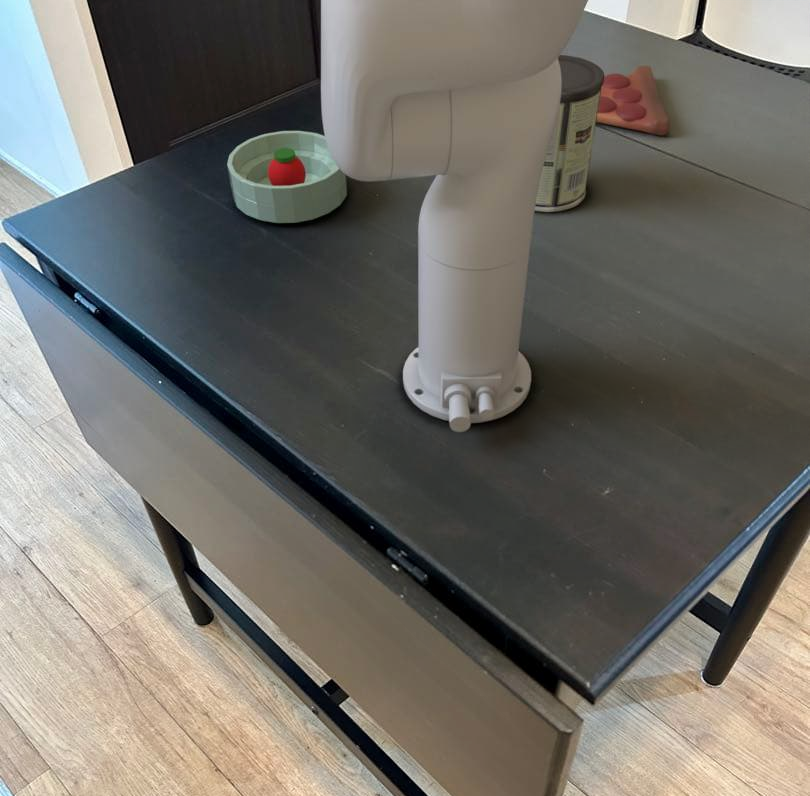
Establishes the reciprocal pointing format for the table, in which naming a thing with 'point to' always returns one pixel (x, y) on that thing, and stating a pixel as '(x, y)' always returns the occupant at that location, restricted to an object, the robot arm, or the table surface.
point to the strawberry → (286, 168)
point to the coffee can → (571, 136)
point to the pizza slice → (633, 102)
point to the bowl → (286, 202)
